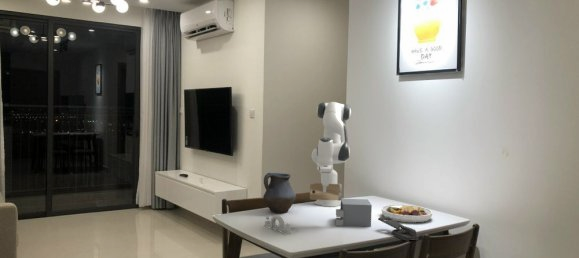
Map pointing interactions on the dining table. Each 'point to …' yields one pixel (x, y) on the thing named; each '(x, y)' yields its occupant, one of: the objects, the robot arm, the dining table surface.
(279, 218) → the gateway
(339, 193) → the cabinet door
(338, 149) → the robot arm
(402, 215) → the bowl
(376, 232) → the dining table surface
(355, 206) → the cabinet
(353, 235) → the dining table surface
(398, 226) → the dark grey clamp
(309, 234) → the dining table surface
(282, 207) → the pitcher
